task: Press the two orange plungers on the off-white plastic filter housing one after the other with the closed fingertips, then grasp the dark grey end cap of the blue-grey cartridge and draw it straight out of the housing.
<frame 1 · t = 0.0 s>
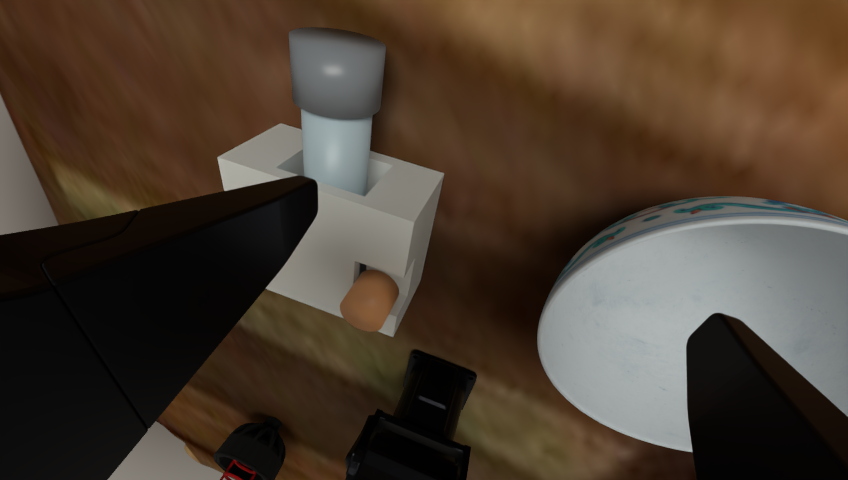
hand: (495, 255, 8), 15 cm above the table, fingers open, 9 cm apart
cartridge: (336, 180, 23), point 3 cm above the table, slide at 0.0 cm
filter: (283, 422, 57), on the table
chinaware: (674, 257, 23), on the table
plunger a: (370, 300, 23), point 7 cm above the table, slide at 0.0 cm
housing: (356, 208, 28), on the table
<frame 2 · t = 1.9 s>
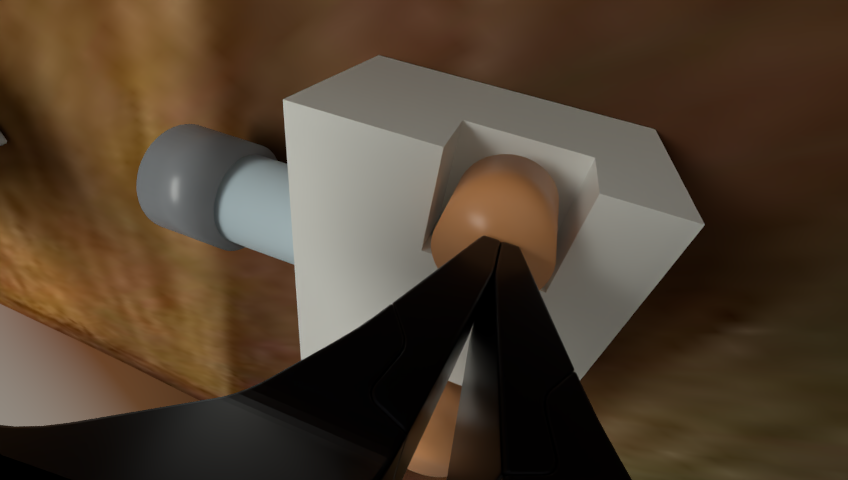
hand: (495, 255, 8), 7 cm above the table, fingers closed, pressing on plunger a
cartridge: (354, 235, 15), point 3 cm above the table, slide at 0.0 cm
plunger a: (498, 226, 9), point 6 cm above the table, slide at 0.9 cm, touching gripper
housing: (468, 224, 17), on the table
plunger b: (427, 422, 14), point 7 cm above the table, slide at 0.0 cm
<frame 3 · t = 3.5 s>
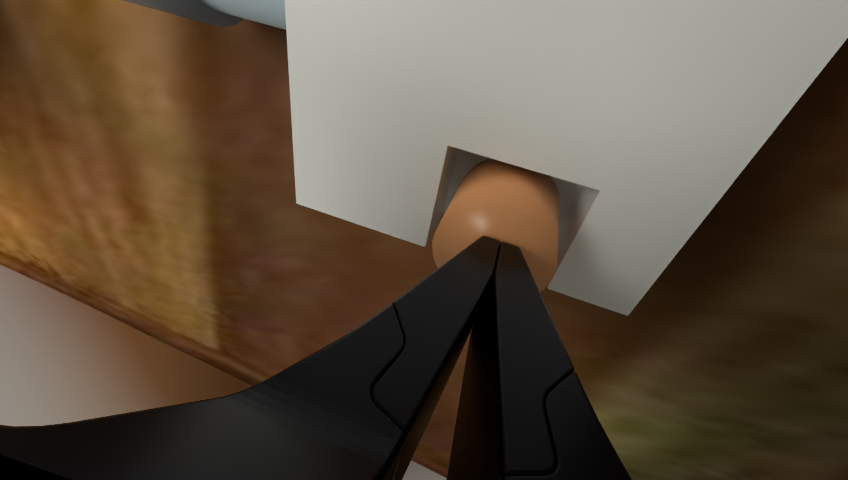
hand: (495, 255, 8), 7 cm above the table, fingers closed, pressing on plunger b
plunger b: (499, 227, 9), point 6 cm above the table, slide at 0.7 cm, touching gripper
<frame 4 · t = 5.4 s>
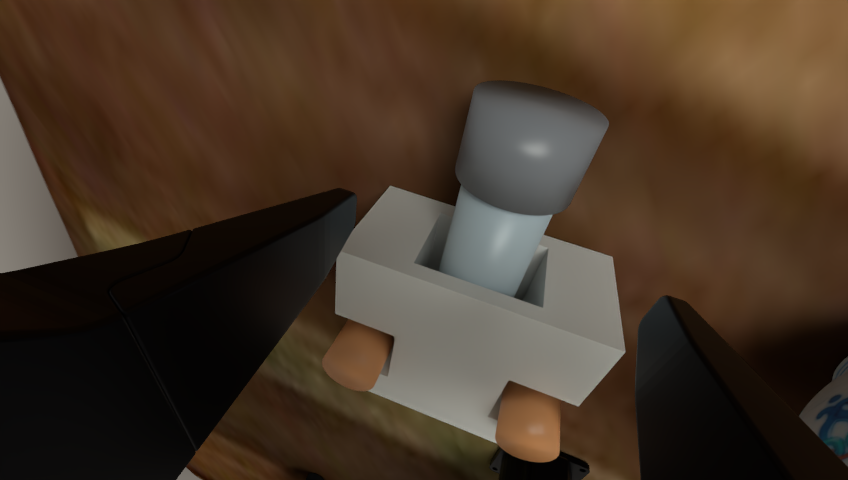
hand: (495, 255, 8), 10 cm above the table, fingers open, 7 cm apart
cartridge: (480, 270, 18), point 3 cm above the table, slide at 0.0 cm
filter: (326, 479, 52), on the table
plunger a: (528, 419, 18), point 6 cm above the table, slide at 0.6 cm
housing: (472, 285, 23), on the table
plunger b: (359, 352, 19), point 6 cm above the table, slide at 0.6 cm
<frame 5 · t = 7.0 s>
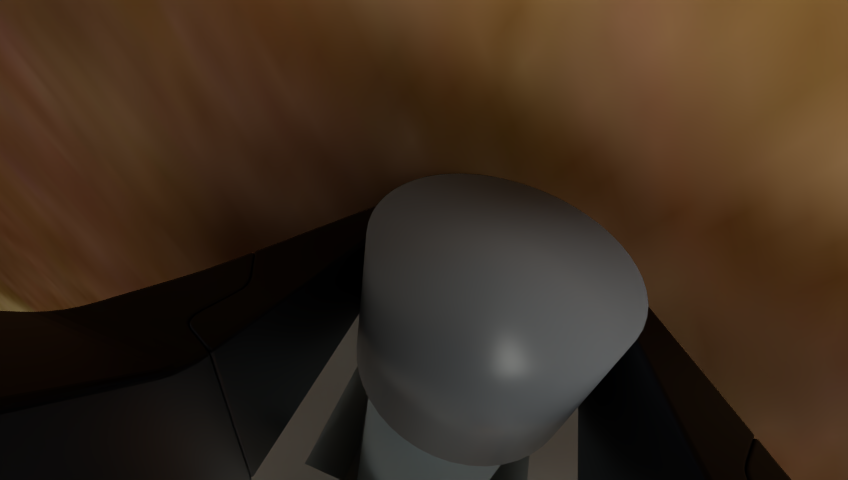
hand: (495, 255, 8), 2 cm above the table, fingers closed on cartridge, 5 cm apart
cartridge: (426, 444, 11), point 3 cm above the table, slide at 0.0 cm, touching gripper
housing: (432, 411, 16), on the table
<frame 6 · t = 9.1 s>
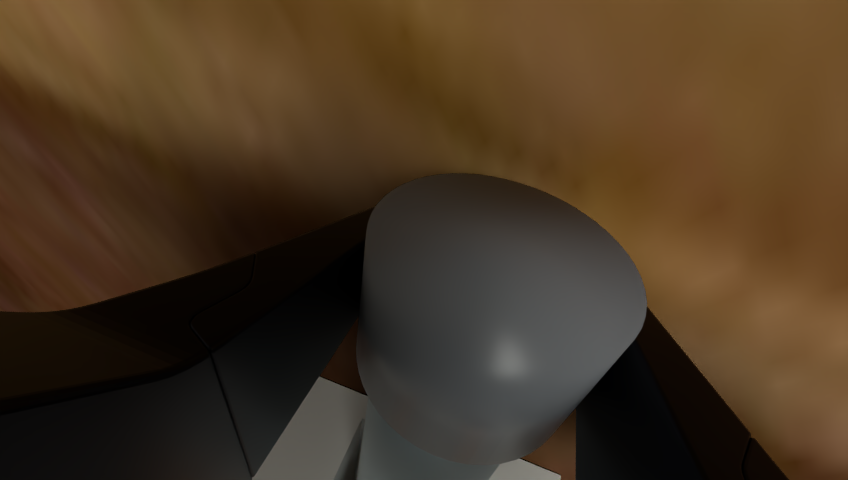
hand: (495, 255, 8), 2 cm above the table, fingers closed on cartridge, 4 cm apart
cartridge: (425, 443, 11), point 3 cm above the table, slide at 5.9 cm, touching gripper
housing: (412, 464, 20), on the table
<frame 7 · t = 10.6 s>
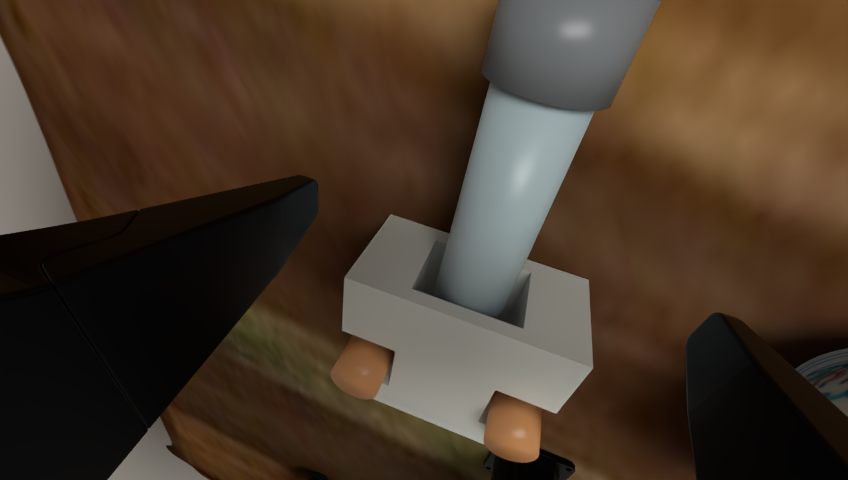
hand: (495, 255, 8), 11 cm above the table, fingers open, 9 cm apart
cartridge: (503, 200, 16), point 3 cm above the table, slide at 6.0 cm
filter: (328, 478, 54), on the table
plunger a: (513, 424, 20), point 6 cm above the table, slide at 0.6 cm
housing: (465, 302, 25), on the table
plunger b: (363, 364, 21), point 6 cm above the table, slide at 0.6 cm
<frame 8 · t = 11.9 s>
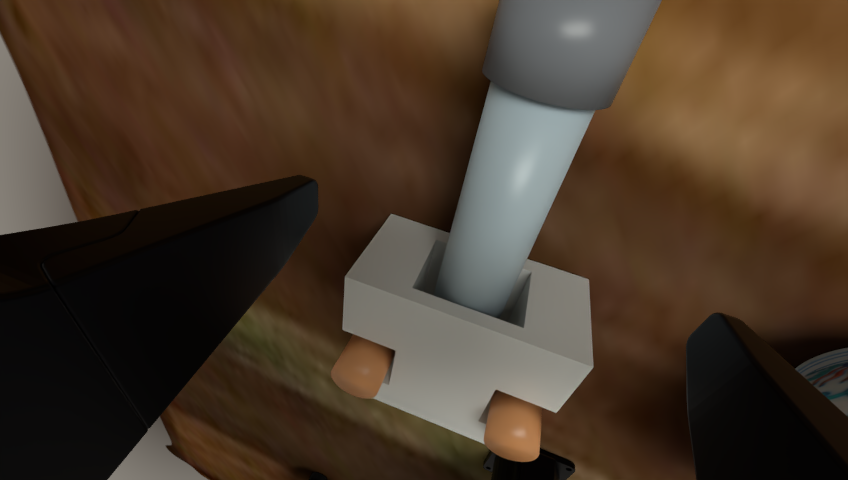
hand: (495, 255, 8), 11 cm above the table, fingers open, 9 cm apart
cartridge: (504, 199, 16), point 3 cm above the table, slide at 6.0 cm
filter: (328, 478, 54), on the table
plunger a: (513, 423, 20), point 6 cm above the table, slide at 0.6 cm
housing: (466, 301, 25), on the table
plunger b: (363, 363, 21), point 6 cm above the table, slide at 0.6 cm
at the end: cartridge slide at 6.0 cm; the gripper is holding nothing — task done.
